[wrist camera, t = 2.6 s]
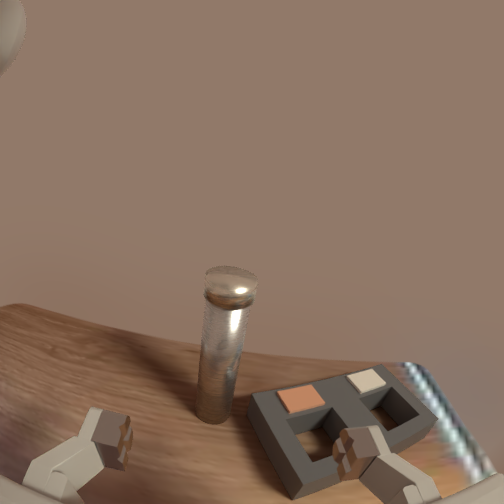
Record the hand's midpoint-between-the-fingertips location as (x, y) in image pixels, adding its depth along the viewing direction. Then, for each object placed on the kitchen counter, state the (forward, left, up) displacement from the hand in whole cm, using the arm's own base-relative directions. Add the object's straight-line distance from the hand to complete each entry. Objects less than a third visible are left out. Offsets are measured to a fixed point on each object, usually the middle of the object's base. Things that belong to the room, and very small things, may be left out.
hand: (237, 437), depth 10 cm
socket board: (+14, +6, -13) cm, 20 cm away
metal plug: (+4, +12, -13) cm, 18 cm away
